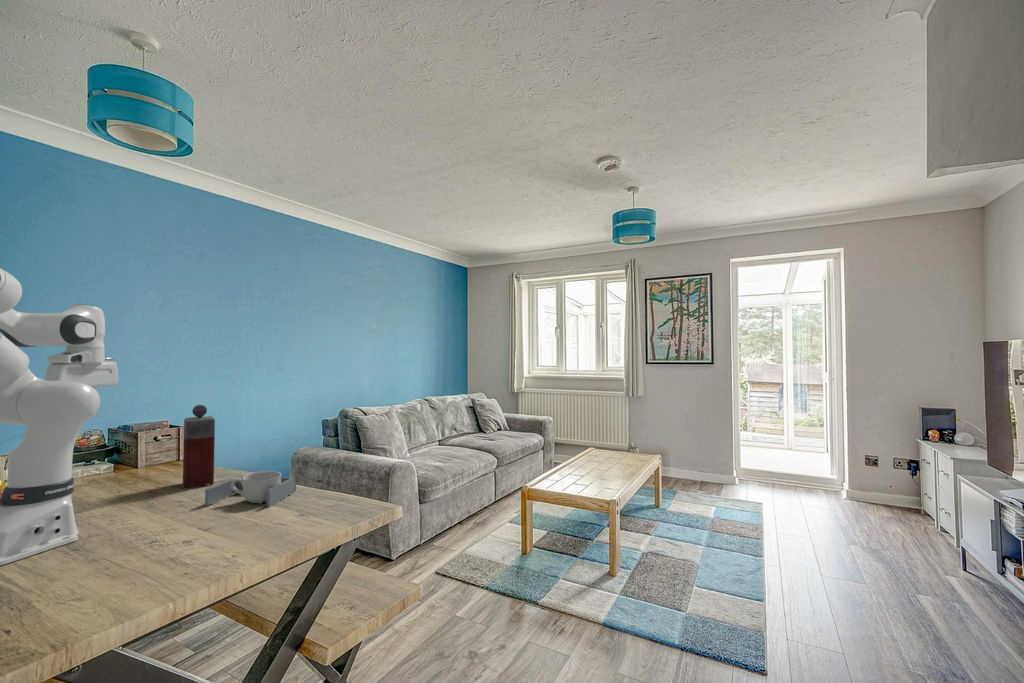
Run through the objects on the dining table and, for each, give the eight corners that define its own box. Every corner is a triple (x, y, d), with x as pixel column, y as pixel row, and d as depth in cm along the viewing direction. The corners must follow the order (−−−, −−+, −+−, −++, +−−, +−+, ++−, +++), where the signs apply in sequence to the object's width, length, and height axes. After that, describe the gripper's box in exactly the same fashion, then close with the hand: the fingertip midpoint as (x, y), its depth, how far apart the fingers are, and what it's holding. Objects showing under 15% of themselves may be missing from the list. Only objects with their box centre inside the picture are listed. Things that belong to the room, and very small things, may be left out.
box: (269, 507, 137) (269, 490, 137) (204, 506, 138) (205, 489, 138) (295, 492, 152) (295, 477, 152) (237, 491, 153) (237, 476, 153)
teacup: (286, 494, 149) (286, 470, 150) (273, 505, 139) (273, 478, 139) (240, 496, 148) (240, 471, 148) (223, 507, 137) (224, 480, 137)
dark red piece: (212, 478, 171) (213, 402, 172) (213, 484, 162) (215, 405, 163) (182, 481, 166) (184, 404, 167) (182, 489, 157) (184, 406, 158)
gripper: (106, 357, 153) (105, 399, 152) (41, 357, 133) (39, 405, 132) (125, 357, 153) (123, 399, 152) (62, 357, 132) (60, 405, 132)
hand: (84, 402), depth 142 cm, fingers closed
